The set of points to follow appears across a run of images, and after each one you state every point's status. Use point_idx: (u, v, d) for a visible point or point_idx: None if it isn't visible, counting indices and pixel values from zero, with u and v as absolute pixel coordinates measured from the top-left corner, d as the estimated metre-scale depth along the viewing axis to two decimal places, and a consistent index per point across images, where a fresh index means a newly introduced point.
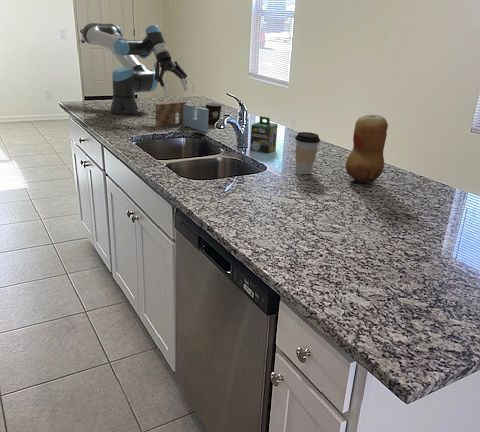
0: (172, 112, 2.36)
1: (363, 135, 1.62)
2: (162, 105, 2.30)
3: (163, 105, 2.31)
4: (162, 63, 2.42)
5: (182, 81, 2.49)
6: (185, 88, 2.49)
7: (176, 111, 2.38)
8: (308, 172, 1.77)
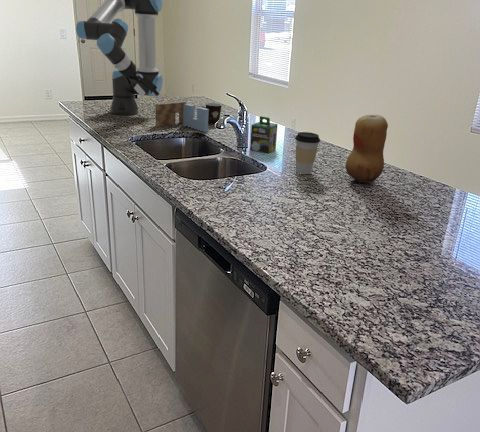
0: (172, 112, 2.36)
1: (363, 135, 1.62)
2: (162, 105, 2.30)
3: (163, 105, 2.31)
4: None
5: None
6: None
7: (176, 111, 2.38)
8: (308, 172, 1.77)
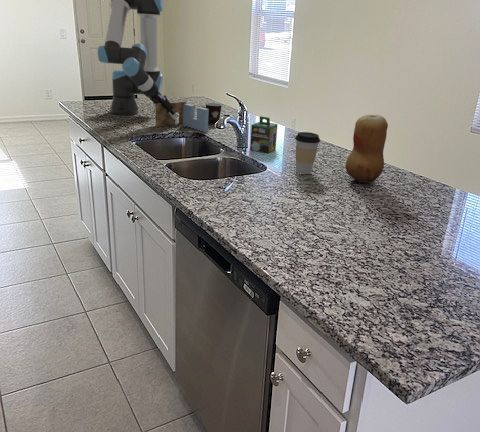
0: None
1: (363, 135, 1.62)
2: None
3: None
4: None
5: None
6: None
7: (176, 111, 2.38)
8: (308, 172, 1.77)
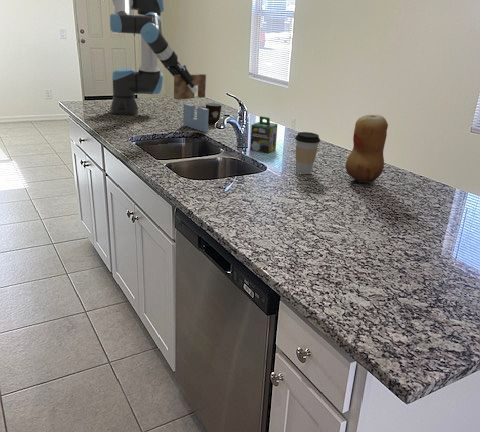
0: None
1: (363, 135, 1.62)
2: None
3: None
4: None
5: None
6: None
7: (195, 84, 2.24)
8: (308, 172, 1.77)
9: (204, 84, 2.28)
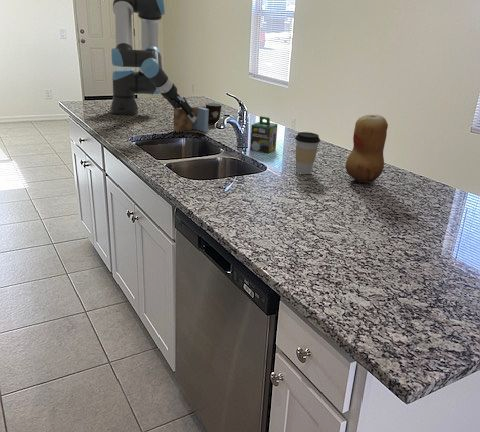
0: None
1: (363, 135, 1.62)
2: (180, 110, 2.23)
3: (181, 110, 2.23)
4: None
5: None
6: None
7: None
8: (308, 172, 1.77)
9: None
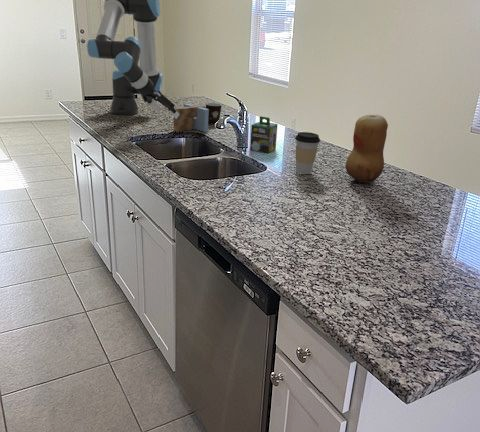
0: (190, 117, 2.29)
1: (363, 135, 1.62)
2: (180, 110, 2.23)
3: (181, 110, 2.23)
4: None
5: None
6: None
7: (194, 116, 2.30)
8: (308, 172, 1.77)
9: None
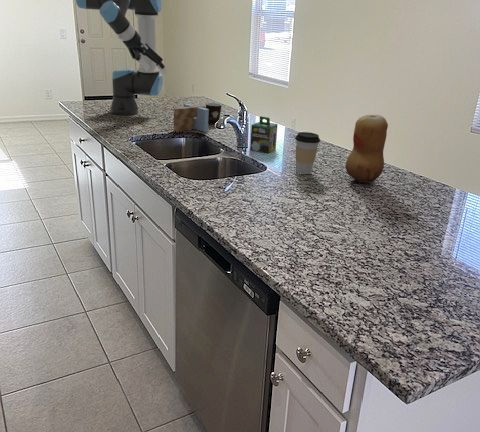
0: (190, 117, 2.29)
1: (363, 135, 1.62)
2: (180, 110, 2.23)
3: (181, 110, 2.23)
4: None
5: None
6: None
7: (194, 116, 2.30)
8: (308, 172, 1.77)
9: None
